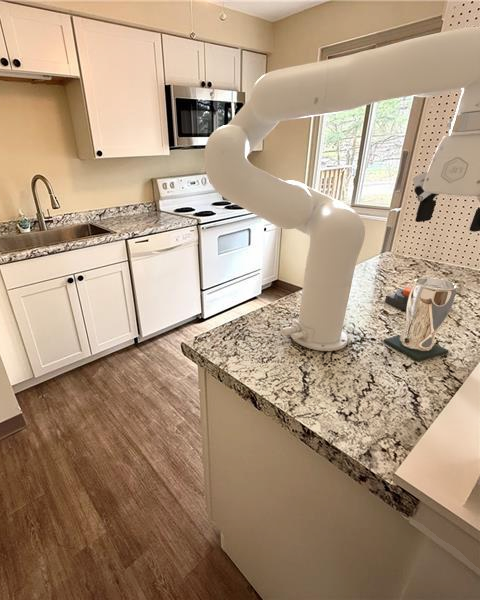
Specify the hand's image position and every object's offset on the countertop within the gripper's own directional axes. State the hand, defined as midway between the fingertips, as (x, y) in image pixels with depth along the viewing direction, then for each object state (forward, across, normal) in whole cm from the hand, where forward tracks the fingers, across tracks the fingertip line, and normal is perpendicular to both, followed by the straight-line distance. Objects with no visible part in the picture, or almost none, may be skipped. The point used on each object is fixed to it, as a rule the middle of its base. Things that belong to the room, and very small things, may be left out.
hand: (448, 225), depth 59 cm
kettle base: (+27, -14, +19) cm, 36 cm away
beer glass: (+27, +1, 0) cm, 27 cm away
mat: (+28, +1, 0) cm, 28 cm away
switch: (+24, -14, +16) cm, 32 cm away
